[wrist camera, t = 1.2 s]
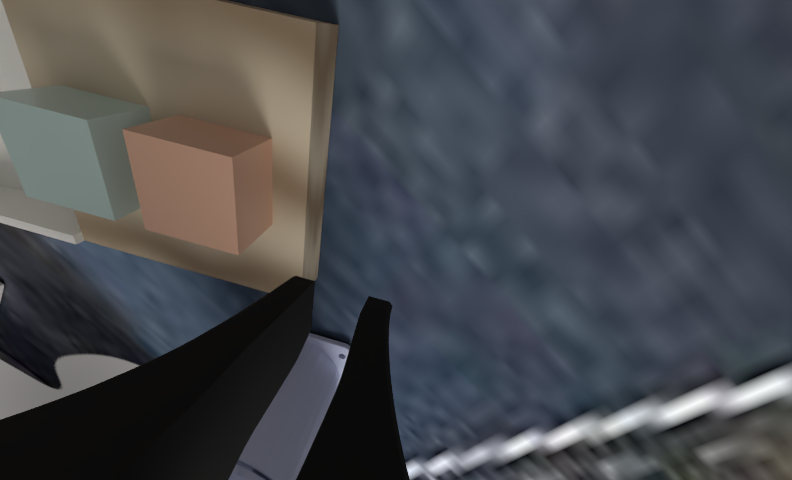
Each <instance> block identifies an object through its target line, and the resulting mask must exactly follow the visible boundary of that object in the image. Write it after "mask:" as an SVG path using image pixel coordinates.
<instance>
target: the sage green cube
mask: <svg viewBox="0 0 792 480" xmlns="http://www.w3.org/2000/svg"><path fill="white" fill-rule="evenodd" d="M149 122H152V120H151V114H150V109H149V107H146V106H142V105H138V104H134V103H131V102H127V101H123V100H119V99H115V98H111V97H107V96H103V95H99V94H95V93H91V92H87V91H83V90H79V89H75V88H71V87H67V86H63V85H57V86H48V87H39V88H29V89H20V90H11V91H2V92H0V134H1V136H2V139H3V141H4V144H5V146H6V148H7V151H8V153H9V156H10V158H11V160H12V163H13V165H14V168H15V170H16V172H17V175H18V177H19V180H20V182H21V184H22V187H23V189H24V191H25V194H26V196H27V197H31V198H34V199H38V200H41V201H45V202H49V203H52V204H56V205H59V206H63V207H67V208H70V209H74V210H77V211H81V212H85V213H88V214H92V215H95V216H99V217H102V218H106V219H110V220H113V221H116V220H118V219H120V218H122V217H124V216H126V215H128V214H130V213H132V212H134V211H136V210H138V209H140V204H139V200H138V195H137V191H136V187H135V182H134V178H133V174H132V169H131V165H130V161H129V156H128V152H127V148H126V143H125V139H124V135H123V130H122V129H125V128H129V127H133V126H137V125H141V124H145V123H149Z"/></svg>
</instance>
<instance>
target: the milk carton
mask: <svg viewBox="0 0 792 480" xmlns="http://www.w3.org/2000/svg"><path fill="white" fill-rule="evenodd" d="M3 289H4V284H3V283H1V282H0V301H1V297H2V293H3Z"/></svg>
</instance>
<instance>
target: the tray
mask: <svg viewBox="0 0 792 480" xmlns="http://www.w3.org/2000/svg"><path fill="white" fill-rule="evenodd" d="M29 88H31V85H30V82H29V79H28V76H27V73H26V70H25V67H24V64H23V61H22V59H21V56H20V53H19V50H18V47H17V44H16V41H15V38H14V35H13V33H12V30H11V27H10V24H9V21H8V18H7V15H6V12H5V9H4V7H3V4H2V1H1V0H0V92H2V91H11V90H20V89H29ZM0 223H3V224H7V225H10V226H14V227H17V228H21V229H24V230H28V231H31V232H35V233H38V234H42V235H45V236H49V237H52V238H56V239H59V240H63V241H66V242H70V243H73V244H78V243H80V242H82V241H84V238H83V235H82V232H81V229H80V226H79V223H78V221H77V218H76V215H75V212H74V209H70V208H67V207H63V206H59V205H56V204H52V203H49V202H45V201H41V200H38V199H34V198H31V197H27V196H26V194H25V191H24V189H23V187H22V184H21V182H20V180H19V177H18V175H17V172H16V170H15V168H14V165H13V163H12V160H11V158H10V156H9V153H8V151H7V148H6V146H5V144H4V141H3V139H2V136H1V134H0Z"/></svg>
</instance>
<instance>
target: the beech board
mask: <svg viewBox="0 0 792 480" xmlns="http://www.w3.org/2000/svg"><path fill="white" fill-rule="evenodd" d="M1 1H2V4H3V7H4V9H5V12H6V15H7V18H8V21H9V24H10V27H11V30H12V33H13V35H14V38H15V41H16V44H17V47H18V50H19V53H20V56H21V59H22V61H23V64H24V67H25V70H26V73H27V76H28V79H29V82H30V85H31V88H39V87H48V86H57V85H63V86H67V87H71V88H75V89H79V90H83V91H87V92H91V93H95V94H99V95H103V96H107V97H111V98H115V99H119V100H123V101H127V102H131V103H134V104H138V105H142V106H146V107H149V109H150V114H151V120H152V122H153V121H157V120H161V119H165V118H169V117H173V116H176V115H182V116H186V117H190V118H194V119H198V120H202V121H206V122H210V123H214V124H218V125H222V126H226V127H230V128H234V129H238V130H242V131H246V132H250V133H254V134H258V135H262V136H266V137H270V138H272V200H273V225H272V226H270V227H269V228H268V229H267V230H266V231H265V232H264V233H263V234H262V235H261V236H260V237H258V238H257V239H256V240H255V241H254V242H253V243H252V244H251V245H250V246H249V247H248V248H246V249H245V250H244V251H243V252H242V253H241V254H240V255H235V254H232V253H228V252H224V251H221V250H217V249H214V248H210V247H207V246H203V245H199V244H196V243H192V242H189V241H185V240H181V239H178V238H174V237H171V236H167V235H163V234H160V233H156V232H153V231H149V230H146V229H145V226H144V221H143V217H142V213H141V208H140V209H138V210H136V211H134V212H132V213H130V214H128V215H126V216H124V217H122V218H120V219H118V220H116V221H113V220H110V219H106V218H102V217H99V216H95V215H92V214H88V213H85V212H81V211H77V210H74V212H75V215H76V218H77V221H78V223H79V226H80V229H81V232H82V235H83V238H84V240H85V241H89V242H92V243H96V244H99V245H103V246H106V247H110V248H113V249H117V250H120V251H124V252H127V253H131V254H134V255H138V256H141V257H145V258H148V259H152V260H155V261H159V262H162V263H166V264H169V265H173V266H176V267H180V268H183V269H187V270H190V271H194V272H197V273H201V274H204V275H208V276H211V277H215V278H218V279H222V280H225V281H229V282H232V283H236V284H239V285H243V286H246V287H250V288H253V289H257V290H260V291H264V292H267V293H270V292H271V291H273V290H274V289H275V288H277V287H278V286H280V285H281V284H283V283H284V282H286V281H287V280H289V279H290V278H292V277H294V276H299V277H302V278H306V279H309V280H313V281H315V280H316V279H317V277H318V267H319V255H320V243H321V231H322V219H323V207H324V195H325V183H326V171H327V159H328V147H329V135H330V123H331V112H332V100H333V88H334V76H335V64H336V52H337V40H338V28H339V25H336V24H331V23H327V22H322V21H318V20H313V19H309V18H304V17H300V16H295V15H291V14H287V13H282V12H278V11H273V10H269V9H264V8H260V7H255V6H251V5H246V4H242V3H237V2H233V1H228V0H1Z"/></svg>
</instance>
